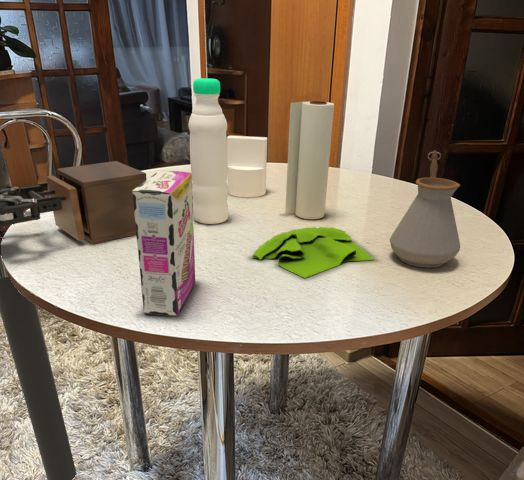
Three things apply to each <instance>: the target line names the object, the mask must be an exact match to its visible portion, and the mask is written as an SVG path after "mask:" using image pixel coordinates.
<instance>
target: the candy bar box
mask: <svg viewBox="0 0 524 480" xmlns="http://www.w3.org/2000/svg"><path fill="white" fill-rule="evenodd" d="M192 183H193V182H192V173H191V172H189V171H188V172H187V171H179V170H177V171H176V170H158V171H156V172H155V173H153V175H151V176H150V177H148V178H147V180H146V181H145V182H143V183H142V184H141V185H139V186H138V187H137V188H135V189H134V190H133V191H132V194H133V203H134V214H135V224H136V235H135V236H136V245H137V253H138V265H139V266H138V267H139V273H140V274H139V276H140V285H141V286H140V287H141V297H142V309H143V314H146V315H154V316H155V315H157V316H165V317H178V316H179V314H180V312H181V310H182V308H183V306H184V304H185V302H186V300H187V298H188V297H189V295H190V293H191V292H192V289H193V288H194V286H195V284H196V259H195V256H196V255H195V235H194V230H195V229H194V228H195V227H194V218H193V195H192Z"/></svg>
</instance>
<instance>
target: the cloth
mask: <svg viewBox="0 0 524 480" xmlns="http://www.w3.org/2000/svg"><path fill="white" fill-rule="evenodd" d="M279 253H281V255H279V258H278V259H277V263H278V266H280V268H282V269H284V270H286V271H288V272H291V273H292V274H295V275H296V276H299V277H301V278H303V279H306V278H310V277H313V276H314V275H315V276H316V275H317V274H320V273H323V272H326V271H328V270H330V269H334V268H336V267H338V266H340V265H341V264H342V263H346V262H367V261H374V260H375V259H374V258H373V257H372V256H371V255H370V254H369V253H368V252H366V251H365V250H364V249H363V248H362V247H360V246H359V245H357V243H355V242H354V241H352V238H351V236H350V235H349V234H348V233H346V231H344V230H342V229H339V228H335V227H328V226H322V227H321V226H319V227H304V228H298V229H293V230H290V231H287V232H281V233H279V234H276V235H274V236H272V238H270V239H268V240H267V241H266V242H264V243H263V244H262V245H260V246H259V247H258V248H257V249H256V251H255V252H253V254H252V256H251V257H252V258H254V259H259V260H260V261H261V260H262V259H263V260H272V259H276V258H277V256H278V254H279Z"/></svg>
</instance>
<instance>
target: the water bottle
mask: <svg viewBox="0 0 524 480" xmlns="http://www.w3.org/2000/svg"><path fill="white" fill-rule="evenodd" d="M192 89H193V93H194V97H195V99H196V100H195V101H196V102H195V104H194V105H193V108H192V112H191V113H190V117H189V119H188V123H187V124H188V130H189V158H190V159H189V160H190V161H189V163H190V164H189V165H190V173H192V195H193V220H194V221H196V222H197V223H199V224H204V225H218V224H222V223H224V222H226V221H227V220H228V218H229V204H228V197H229V193H228V172H227V168H228V157H227V137H228V136H227V131H228V122H227V121H228V120H227V118H226V117H225V114H224V113H223V109H222V107H221V105H220V104H219V97H220V96H221V95H220V93H221V82H220V80H218V79H216V78H205V77H204V78H203V77H201V78H200V77H199V78H195V79H194V80H193V82H192Z"/></svg>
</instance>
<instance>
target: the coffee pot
mask: <svg viewBox="0 0 524 480" xmlns="http://www.w3.org/2000/svg"><path fill="white" fill-rule="evenodd" d="M430 155H431V157H429V156H430ZM438 155H439V156H438ZM427 158H428V160H430V161H431V163H430V166H429V175H430V176H429V177H421V178H417V179H416V180H415V184H416V186H417V194H416V196H415V197H414V199H413V201H412V202H411V204H410V205H409V207H408V209H407V210H406V212H405V214H403V217H402V218H401V220H400V221H399V223H398V224H397V226H396V228H395V229H394V230H393V233H392V234H391V236H390V238H389V243H390V247H391V250H392V251H393V253H395V255H397V257H398V259H399V260H400V261H401V262H403V263H404V264H407V265H409V266H414V267H419V268H427V269H430V268H431V269H432V268H439V267H441V266H444V264H445V263H448V262H450V261H451V260H453V259H454V258H455V257H456V256H457V255H458V254H459V252H460V250H461V242H460V237H459V232H458V227H457V221H456V217H455V212H454V207H453V201H452V196H453V195H454V193H455V192H456V191H457V190H458V188H460V187H461V184H460V183H458V182H456V181H454V180H451V179H447V178H440V177H437V175H438V167H439V164H438V161H439V160H440V159H441V158H442V154H441V153H440V152H439V151H437V150H436V149H434V150H432V151H431V152H429V153H428V154H427Z"/></svg>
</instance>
